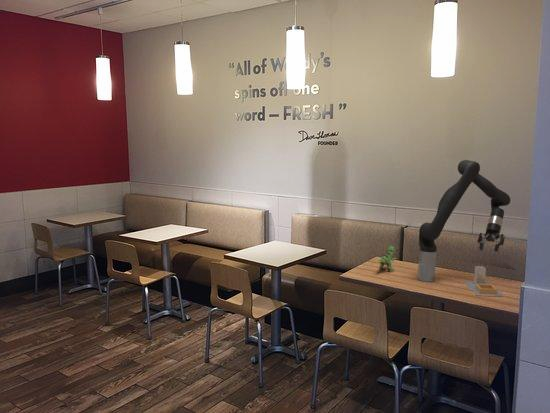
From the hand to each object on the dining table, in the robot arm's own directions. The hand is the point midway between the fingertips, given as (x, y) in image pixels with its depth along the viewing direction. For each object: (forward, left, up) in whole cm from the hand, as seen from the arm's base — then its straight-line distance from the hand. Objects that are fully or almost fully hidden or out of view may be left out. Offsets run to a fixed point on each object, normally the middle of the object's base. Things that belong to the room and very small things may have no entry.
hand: (488, 250), depth 283 cm
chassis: (-7, -18, -18) cm, 26 cm away
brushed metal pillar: (-7, -11, -17) cm, 21 cm away
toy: (-55, +12, -19) cm, 59 cm away
